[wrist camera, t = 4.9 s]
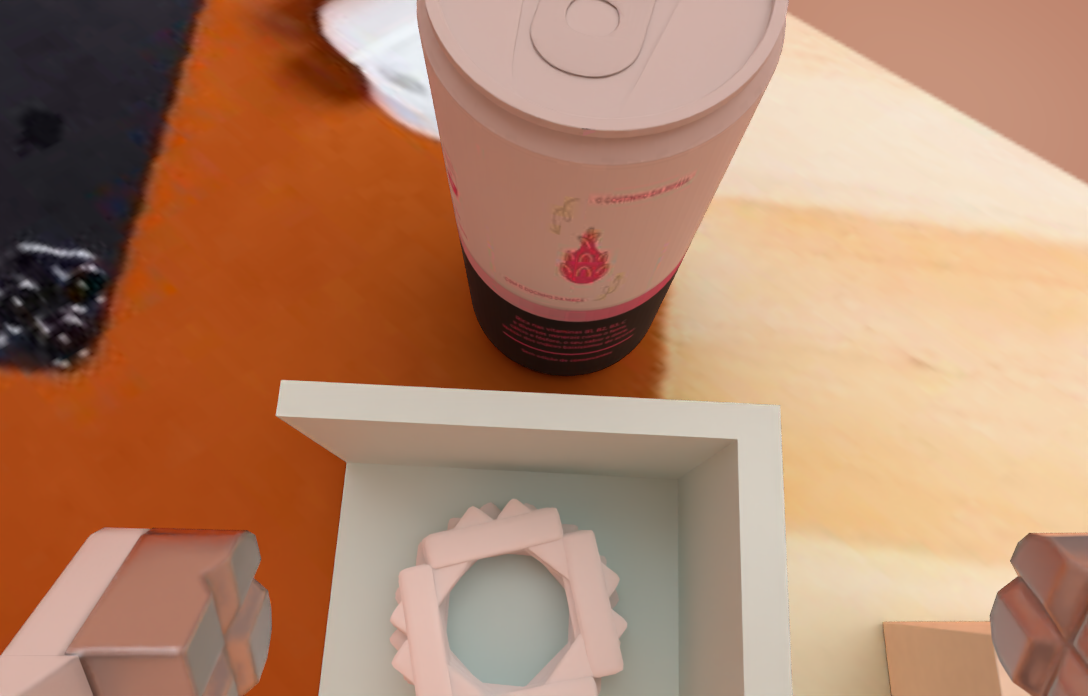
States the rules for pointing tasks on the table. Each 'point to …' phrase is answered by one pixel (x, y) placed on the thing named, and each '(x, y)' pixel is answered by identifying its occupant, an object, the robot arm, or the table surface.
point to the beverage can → (587, 155)
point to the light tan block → (945, 660)
